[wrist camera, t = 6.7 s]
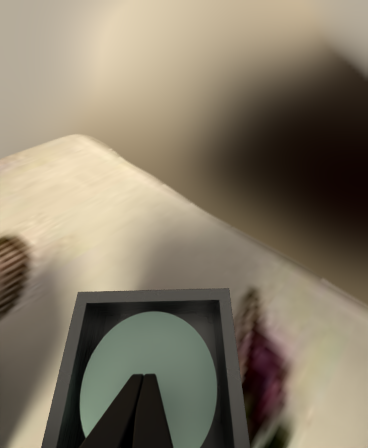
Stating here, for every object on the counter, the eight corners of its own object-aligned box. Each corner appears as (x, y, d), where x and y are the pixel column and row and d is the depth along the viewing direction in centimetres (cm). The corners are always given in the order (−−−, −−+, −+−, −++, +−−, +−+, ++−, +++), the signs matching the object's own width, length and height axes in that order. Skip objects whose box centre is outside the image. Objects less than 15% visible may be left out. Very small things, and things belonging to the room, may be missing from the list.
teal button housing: (222, 444, 13) (260, 527, 6) (105, 447, 13) (20, 533, 6) (212, 318, 17) (228, 288, 10) (121, 320, 17) (78, 292, 10)
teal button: (216, 453, 9) (225, 480, 7) (91, 457, 9) (62, 484, 7) (206, 319, 12) (210, 310, 10) (111, 322, 12) (94, 312, 10)
